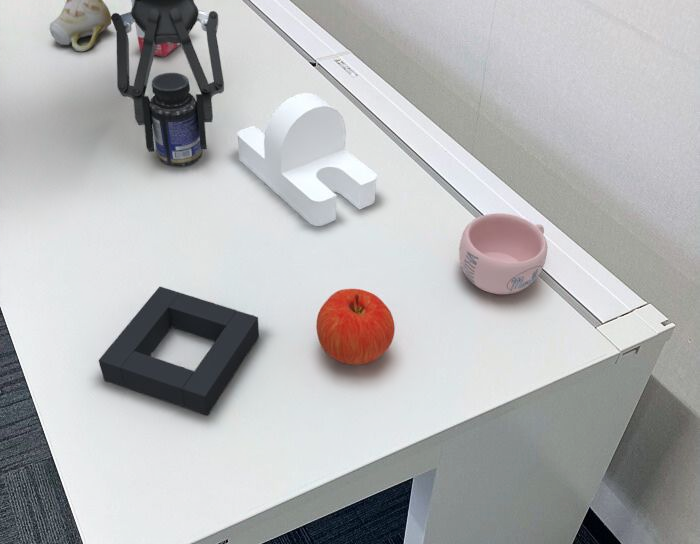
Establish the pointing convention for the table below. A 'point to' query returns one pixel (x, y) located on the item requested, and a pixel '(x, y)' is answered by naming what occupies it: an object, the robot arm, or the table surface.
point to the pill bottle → (175, 120)
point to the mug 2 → (502, 252)
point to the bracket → (307, 159)
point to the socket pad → (171, 380)
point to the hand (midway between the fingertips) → (177, 148)
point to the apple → (355, 326)
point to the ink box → (161, 48)
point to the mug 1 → (80, 22)
